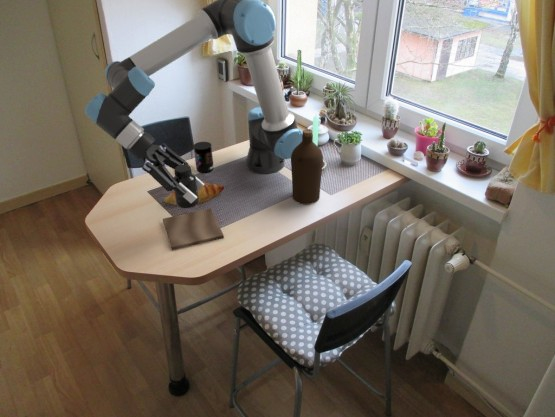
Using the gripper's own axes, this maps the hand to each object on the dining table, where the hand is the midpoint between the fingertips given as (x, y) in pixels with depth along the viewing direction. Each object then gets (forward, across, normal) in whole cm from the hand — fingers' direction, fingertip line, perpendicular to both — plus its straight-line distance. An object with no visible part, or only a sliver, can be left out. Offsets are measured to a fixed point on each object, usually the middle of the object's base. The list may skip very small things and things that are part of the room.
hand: (197, 193), depth 136 cm
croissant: (+4, -18, -16) cm, 25 cm away
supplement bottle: (0, 0, -5) cm, 5 cm away
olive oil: (+31, -24, +12) cm, 41 cm away
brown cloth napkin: (+7, 0, -12) cm, 14 cm away
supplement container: (+2, -39, -17) cm, 42 cm away
